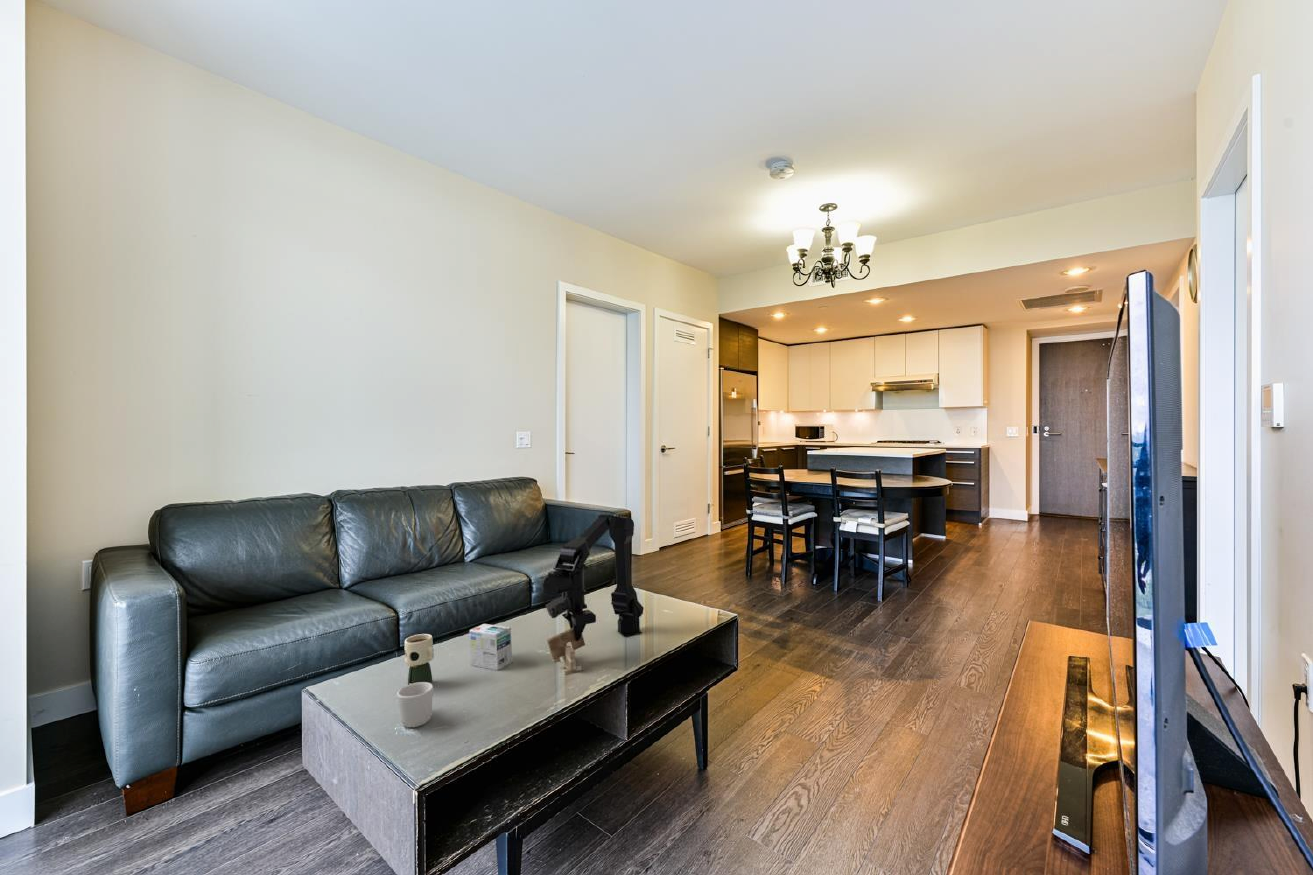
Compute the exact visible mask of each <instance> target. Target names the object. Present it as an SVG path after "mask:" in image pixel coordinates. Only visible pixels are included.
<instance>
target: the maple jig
mask: <svg viewBox="0 0 1313 875" xmlns="http://www.w3.org/2000/svg"><path fill="white" fill-rule="evenodd" d="M563 648H564V651H565V655H564V656H562V657H560V658H558V659H556V660H553V659H552V658H551V660H552V662H554V663H555V662H560V663H561V664H562V665H563V666H564V667H565V668H564V669H562V673H563V674H564V675H569V674H572V673H577V672H578V673H579V672H581V671H582V666H580V665H578V666H576V650H573V648H572V646H571V645H568V643H567V644H564V645H563Z"/></svg>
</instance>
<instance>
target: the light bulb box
mask: <svg viewBox="0 0 1313 875" xmlns="http://www.w3.org/2000/svg"><path fill="white" fill-rule="evenodd" d="M511 628H512V627H511V626H503V625H495V624H488V623H482V624H480V625H478V626H475V627H473V628H471V629H469V647H470V648H469V650H470V651H469V653H470V654H469V655H470V666H471V667H479V668H483V669H489V670H494V671H499V670H501V669H503V668H504V667H506V666H508V665H509V664H512V663H513V649H512V647H513V646H512V629H511Z"/></svg>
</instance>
